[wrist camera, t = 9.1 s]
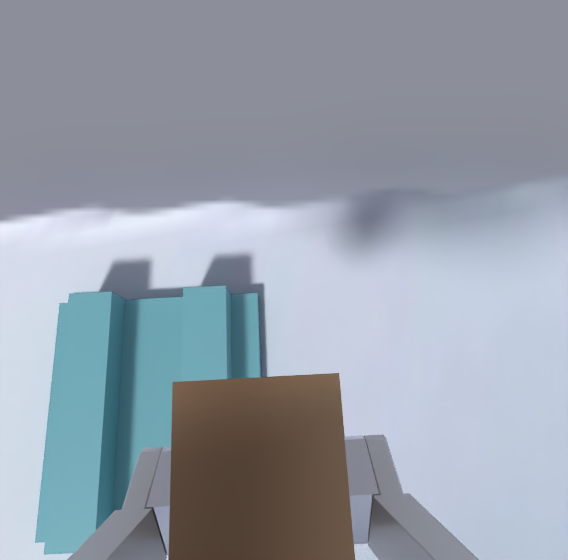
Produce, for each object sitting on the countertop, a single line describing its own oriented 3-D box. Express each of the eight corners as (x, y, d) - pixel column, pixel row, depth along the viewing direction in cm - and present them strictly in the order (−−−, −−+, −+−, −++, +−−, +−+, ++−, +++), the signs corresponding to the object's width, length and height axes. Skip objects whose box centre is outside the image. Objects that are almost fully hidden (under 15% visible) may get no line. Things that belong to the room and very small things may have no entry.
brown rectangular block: (308, 388, 16) (339, 373, 8) (316, 503, 15) (361, 638, 6) (231, 393, 16) (172, 381, 8) (232, 508, 15) (166, 650, 6)
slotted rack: (258, 296, 33) (254, 284, 29) (266, 526, 28) (262, 543, 25) (66, 306, 33) (40, 295, 29) (43, 537, 28) (10, 556, 25)
